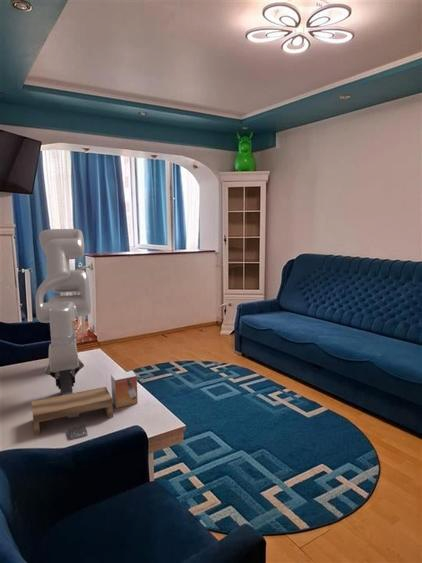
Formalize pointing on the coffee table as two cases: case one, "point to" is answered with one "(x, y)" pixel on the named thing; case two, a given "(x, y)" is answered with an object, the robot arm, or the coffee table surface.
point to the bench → (71, 405)
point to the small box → (124, 389)
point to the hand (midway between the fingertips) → (65, 385)
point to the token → (77, 431)
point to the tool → (66, 385)
